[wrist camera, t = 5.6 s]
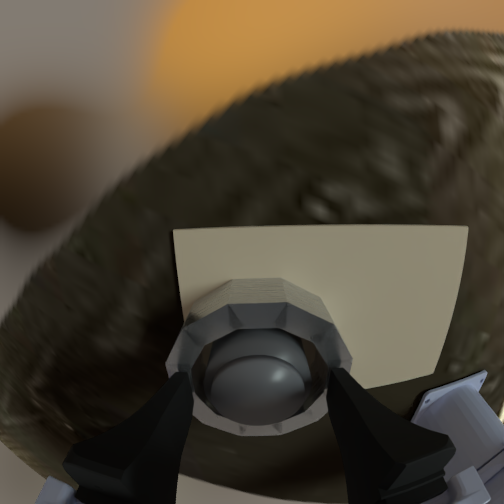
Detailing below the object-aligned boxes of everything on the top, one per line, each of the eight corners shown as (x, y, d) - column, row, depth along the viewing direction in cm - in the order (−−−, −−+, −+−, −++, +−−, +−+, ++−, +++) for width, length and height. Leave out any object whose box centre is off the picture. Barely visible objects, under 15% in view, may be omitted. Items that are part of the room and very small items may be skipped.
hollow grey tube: (327, 398, 16) (335, 429, 13) (193, 402, 16) (185, 433, 13) (343, 274, 14) (362, 297, 11) (170, 279, 14) (152, 303, 11)
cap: (297, 379, 16) (307, 428, 12) (215, 379, 16) (207, 428, 12) (305, 308, 14) (321, 353, 10) (209, 309, 14) (195, 353, 10)
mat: (431, 371, 16) (433, 373, 16) (199, 395, 16) (198, 398, 16) (465, 225, 13) (468, 226, 13) (174, 229, 13) (173, 230, 13)
